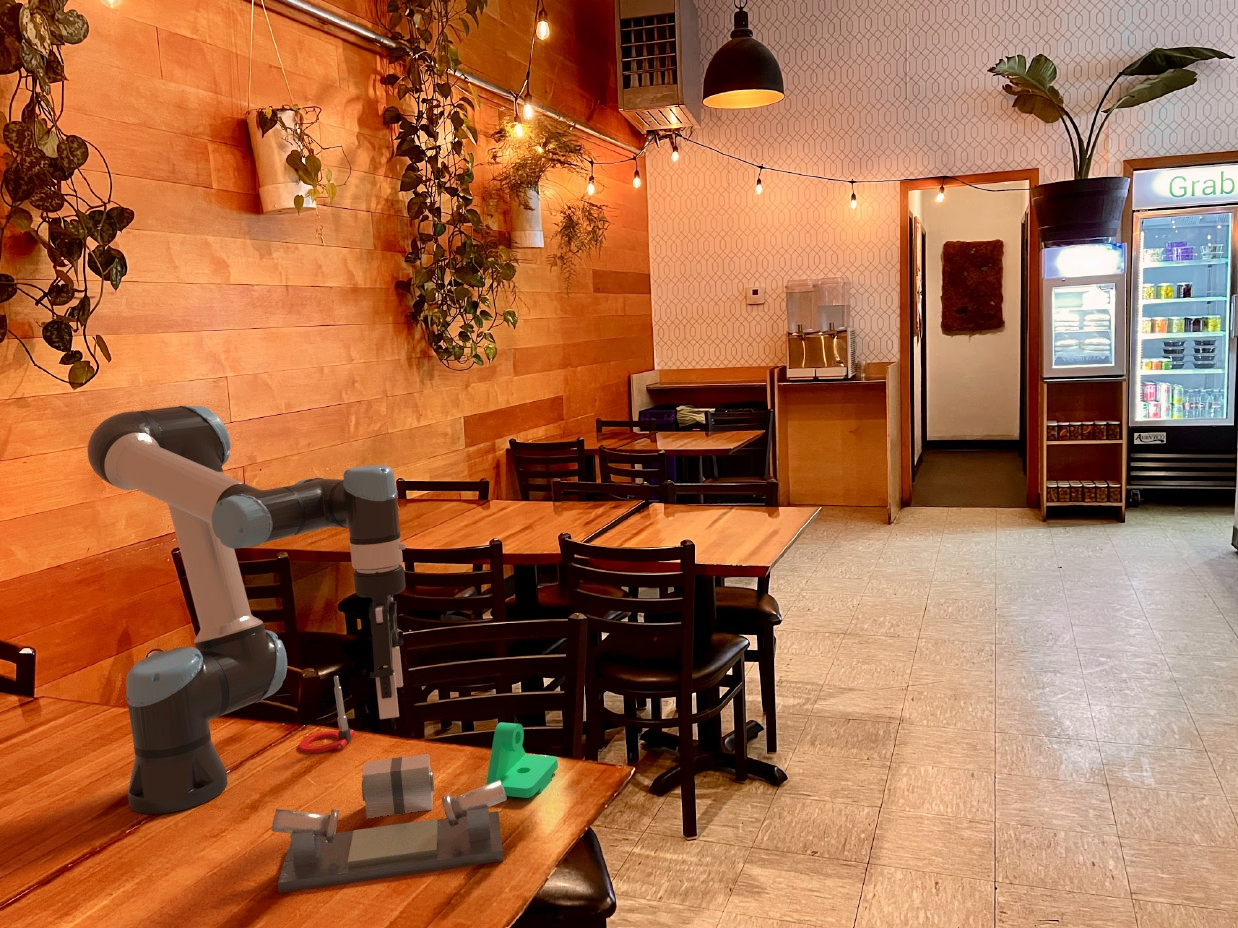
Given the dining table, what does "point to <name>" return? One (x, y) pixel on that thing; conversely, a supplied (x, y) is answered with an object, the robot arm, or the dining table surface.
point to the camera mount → (518, 763)
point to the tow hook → (342, 735)
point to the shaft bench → (390, 843)
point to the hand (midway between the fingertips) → (392, 701)
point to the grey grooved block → (397, 786)
